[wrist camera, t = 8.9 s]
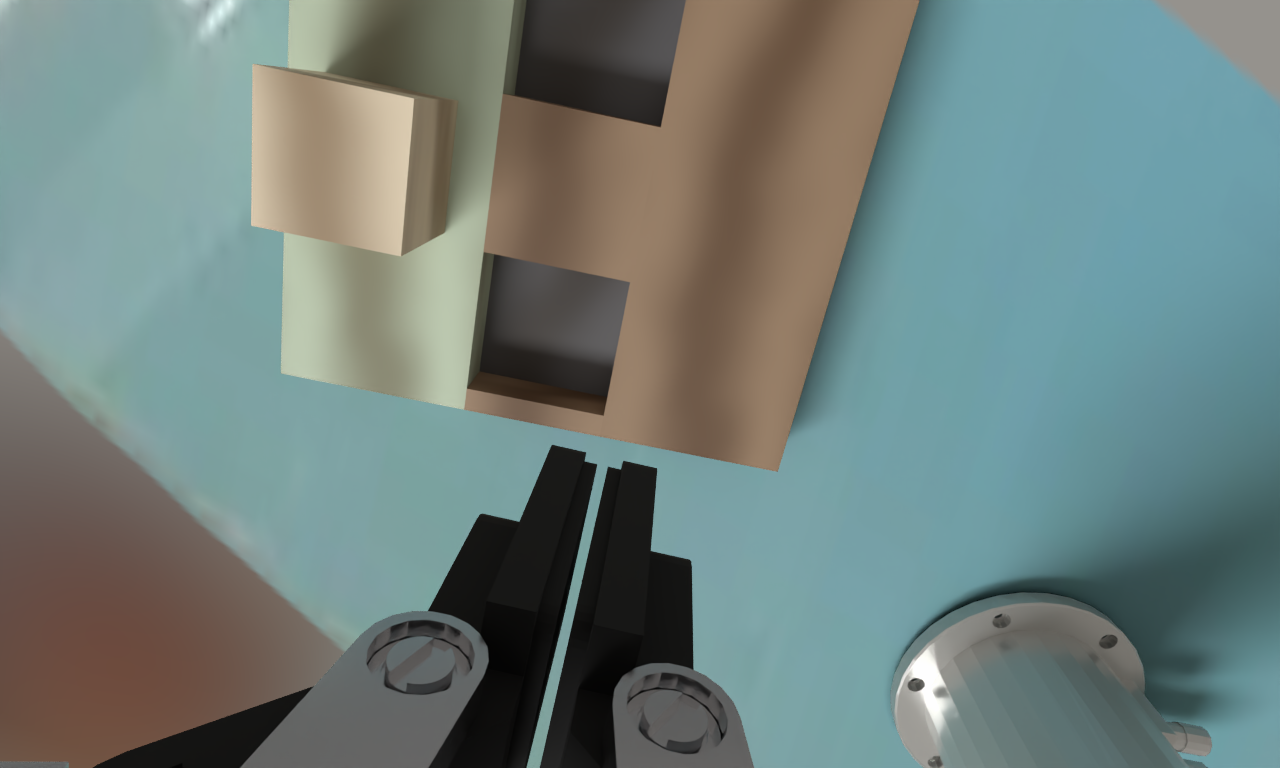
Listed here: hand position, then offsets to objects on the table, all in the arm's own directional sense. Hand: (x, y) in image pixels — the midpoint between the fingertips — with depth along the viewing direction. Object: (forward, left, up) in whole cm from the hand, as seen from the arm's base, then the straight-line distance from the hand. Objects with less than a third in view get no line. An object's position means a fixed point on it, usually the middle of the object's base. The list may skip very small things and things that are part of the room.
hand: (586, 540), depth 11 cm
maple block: (+10, -3, -19) cm, 22 cm away
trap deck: (+3, -3, -22) cm, 22 cm away
